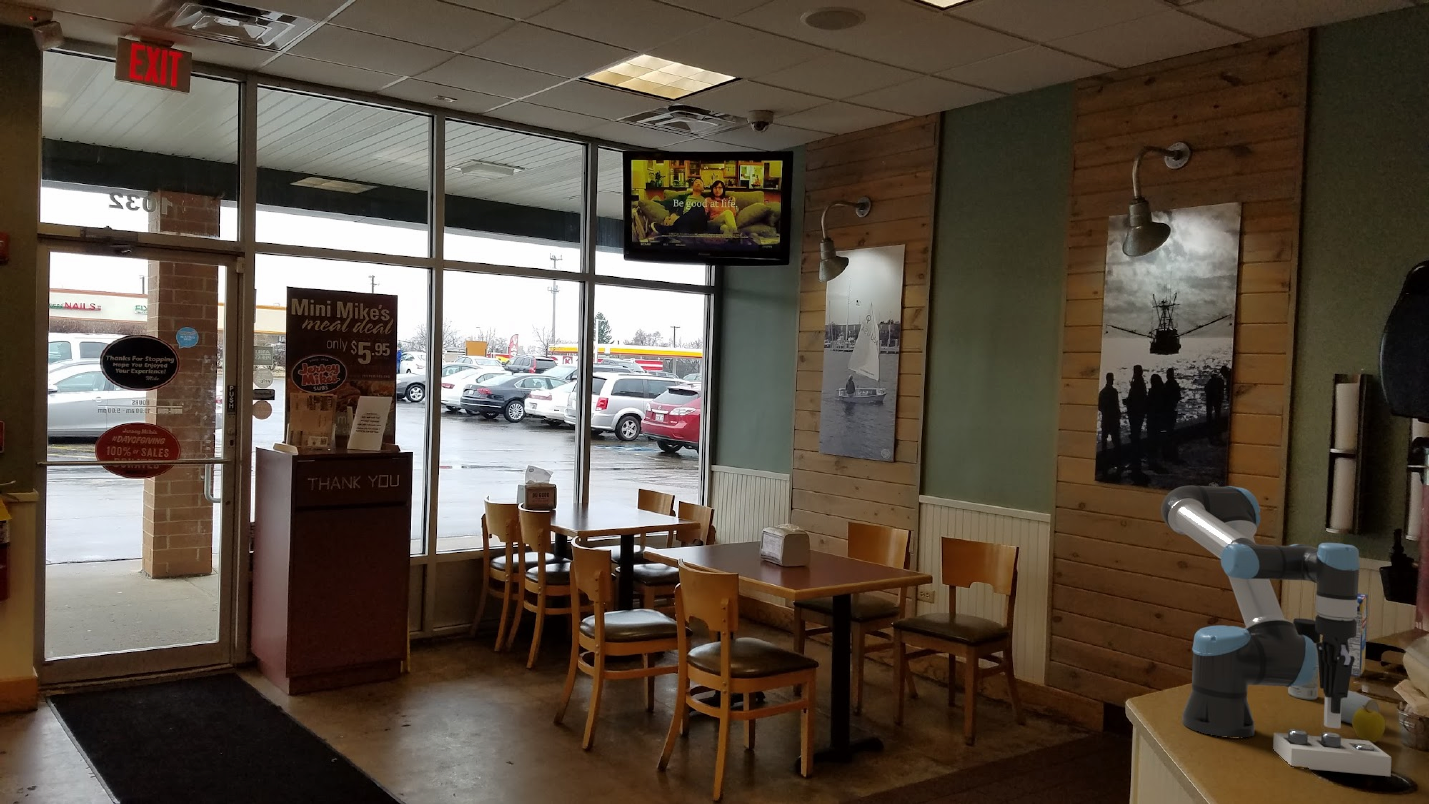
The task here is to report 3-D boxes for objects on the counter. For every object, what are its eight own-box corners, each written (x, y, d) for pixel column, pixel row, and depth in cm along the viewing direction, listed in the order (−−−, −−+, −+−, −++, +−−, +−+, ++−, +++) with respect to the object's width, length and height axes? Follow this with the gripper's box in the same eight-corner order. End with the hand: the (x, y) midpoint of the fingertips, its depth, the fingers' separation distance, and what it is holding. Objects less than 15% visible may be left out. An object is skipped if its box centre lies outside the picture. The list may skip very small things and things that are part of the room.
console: (1291, 767, 209) (1291, 748, 209) (1273, 750, 219) (1273, 732, 219) (1390, 776, 206) (1391, 757, 206) (1367, 759, 216) (1368, 740, 216)
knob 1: (1291, 752, 212) (1292, 732, 212) (1285, 746, 216) (1285, 727, 216) (1309, 753, 211) (1310, 734, 211) (1303, 747, 215) (1303, 728, 215)
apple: (1348, 734, 232) (1350, 700, 231) (1380, 739, 229) (1382, 704, 229) (1354, 743, 226) (1355, 708, 226) (1387, 748, 223) (1389, 712, 223)
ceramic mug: (1365, 731, 234) (1366, 699, 234) (1328, 721, 241) (1330, 689, 241) (1387, 725, 240) (1389, 693, 240) (1351, 715, 247) (1352, 684, 247)
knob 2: (1358, 767, 210) (1358, 747, 210) (1350, 760, 213) (1351, 741, 213) (1376, 768, 209) (1377, 749, 209) (1368, 762, 213) (1369, 743, 213)
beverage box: (1331, 672, 286) (1334, 596, 286) (1337, 664, 295) (1340, 591, 294) (1359, 677, 282) (1362, 600, 282) (1364, 669, 290) (1367, 594, 290)
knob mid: (1324, 755, 211) (1325, 735, 211) (1317, 749, 214) (1318, 730, 214) (1343, 756, 210) (1344, 737, 210) (1336, 750, 214) (1336, 731, 214)
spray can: (1318, 695, 262) (1321, 620, 262) (1317, 702, 256) (1320, 625, 256) (1288, 691, 266) (1291, 616, 265) (1287, 697, 260) (1290, 621, 260)
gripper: (1369, 624, 205) (1365, 738, 205) (1341, 611, 218) (1337, 718, 218) (1330, 621, 206) (1325, 735, 206) (1304, 609, 219) (1300, 715, 219)
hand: (1332, 726), depth 212 cm, fingers closed
